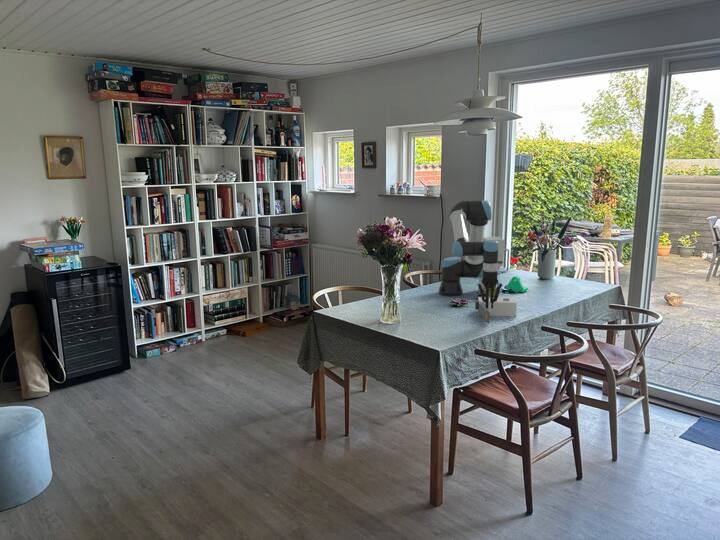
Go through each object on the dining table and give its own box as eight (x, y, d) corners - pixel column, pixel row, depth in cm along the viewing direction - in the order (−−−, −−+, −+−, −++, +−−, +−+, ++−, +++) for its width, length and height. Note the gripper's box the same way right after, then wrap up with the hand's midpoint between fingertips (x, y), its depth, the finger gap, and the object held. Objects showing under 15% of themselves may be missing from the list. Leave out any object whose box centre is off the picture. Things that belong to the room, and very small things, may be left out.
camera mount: (528, 291, 351) (529, 276, 349) (522, 293, 346) (523, 278, 344) (511, 288, 359) (512, 273, 357) (505, 290, 354) (506, 275, 352)
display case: (482, 293, 345) (487, 239, 338) (478, 289, 355) (482, 236, 348) (500, 293, 346) (505, 239, 338) (495, 289, 356) (500, 237, 348)
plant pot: (493, 301, 328) (494, 287, 326) (503, 305, 319) (503, 291, 317) (480, 303, 324) (481, 289, 323) (489, 306, 316) (490, 292, 314)
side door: (477, 314, 298) (477, 303, 297) (480, 314, 299) (481, 303, 297) (486, 323, 282) (486, 312, 281) (489, 323, 282) (490, 312, 281)
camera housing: (475, 315, 299) (476, 300, 297) (474, 310, 309) (475, 295, 307) (515, 316, 296) (516, 301, 294) (513, 311, 306) (514, 296, 304)
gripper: (479, 272, 276) (478, 316, 281) (504, 271, 276) (503, 316, 281) (476, 269, 283) (475, 312, 288) (500, 268, 283) (499, 312, 288)
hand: (489, 314), depth 284 cm, fingers closed
